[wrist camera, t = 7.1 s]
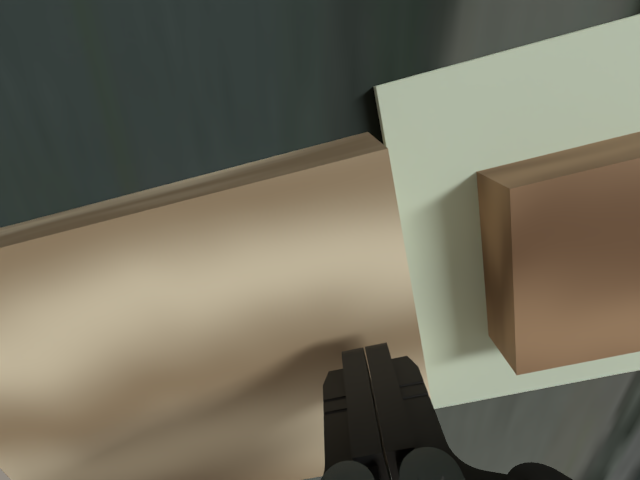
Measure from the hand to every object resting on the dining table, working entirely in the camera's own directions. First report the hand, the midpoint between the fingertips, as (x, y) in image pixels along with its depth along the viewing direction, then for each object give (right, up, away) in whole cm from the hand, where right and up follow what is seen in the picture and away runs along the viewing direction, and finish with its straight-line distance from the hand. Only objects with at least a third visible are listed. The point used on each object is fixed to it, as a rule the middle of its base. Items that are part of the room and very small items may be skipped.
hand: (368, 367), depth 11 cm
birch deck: (-7, 0, +5) cm, 9 cm away
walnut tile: (+8, +3, +2) cm, 9 cm away
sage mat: (+9, +4, +4) cm, 11 cm away
